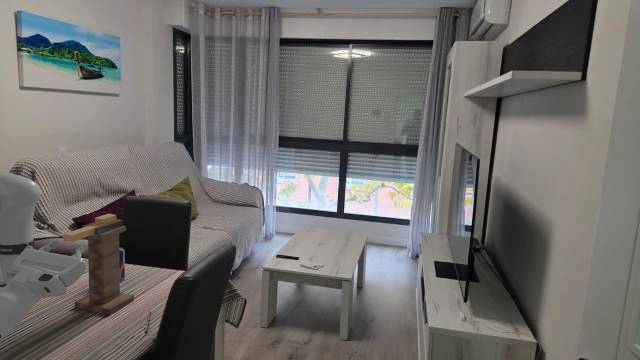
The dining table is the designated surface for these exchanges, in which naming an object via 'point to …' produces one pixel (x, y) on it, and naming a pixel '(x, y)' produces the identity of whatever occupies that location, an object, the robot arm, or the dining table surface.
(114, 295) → the holder stand
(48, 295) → the robot arm
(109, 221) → the wooden stick
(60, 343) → the dining table surface
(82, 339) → the dining table surface
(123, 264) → the energy drink
